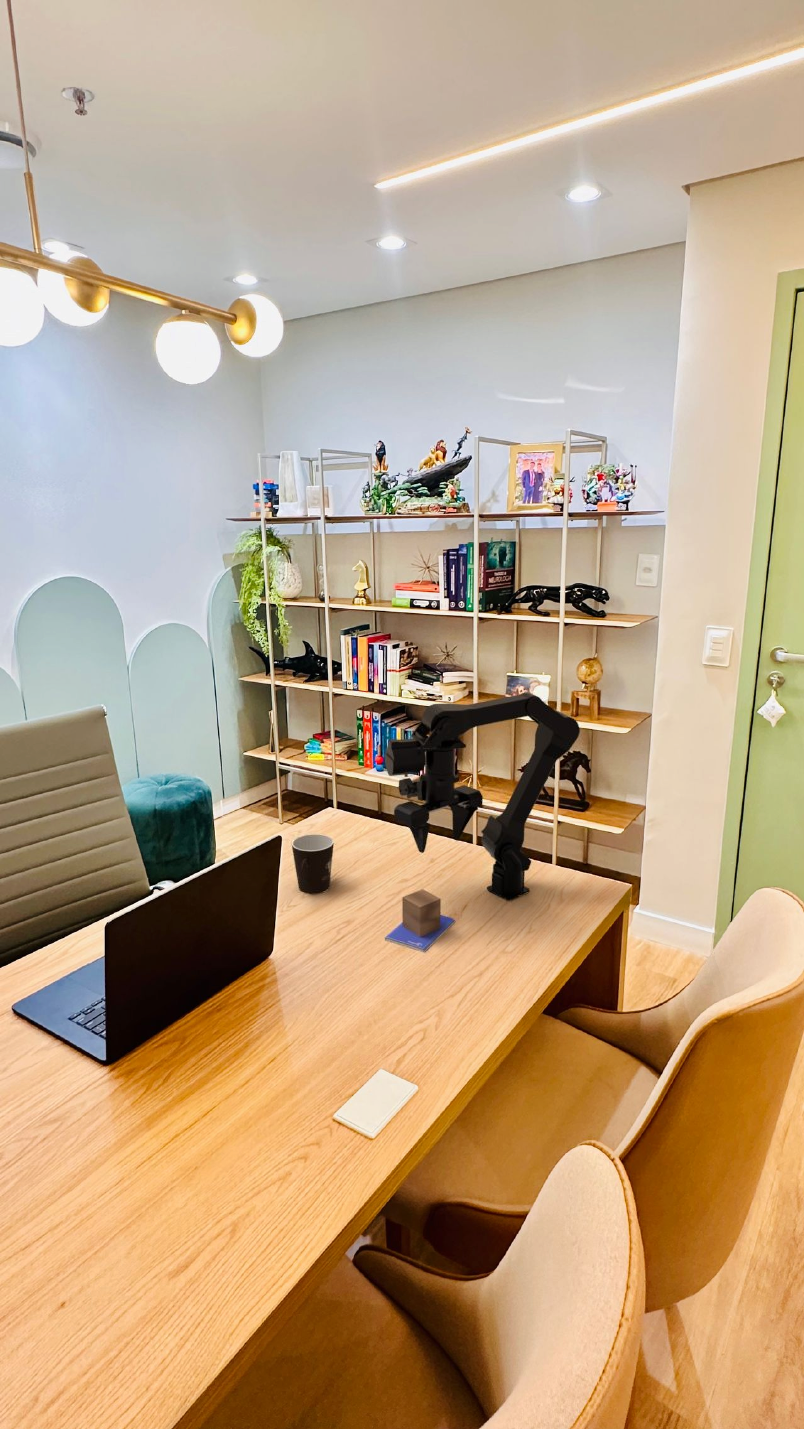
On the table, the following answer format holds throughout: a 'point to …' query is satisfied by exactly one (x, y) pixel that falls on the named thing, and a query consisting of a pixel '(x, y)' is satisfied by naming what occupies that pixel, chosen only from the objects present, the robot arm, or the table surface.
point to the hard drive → (416, 942)
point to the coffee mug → (313, 862)
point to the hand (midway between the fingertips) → (438, 845)
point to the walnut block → (421, 912)
